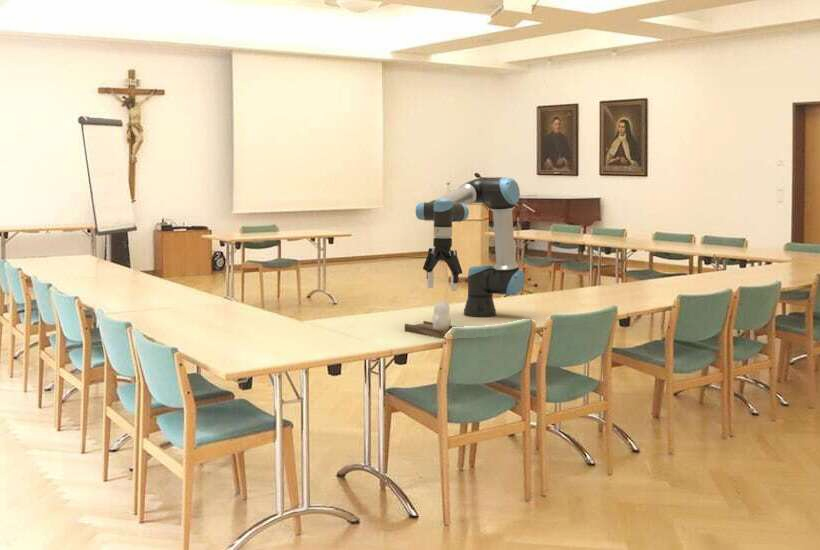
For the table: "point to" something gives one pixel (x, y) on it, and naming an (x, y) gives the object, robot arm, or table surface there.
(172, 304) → the table surface
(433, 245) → the robot arm
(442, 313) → the figurine
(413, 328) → the flange rail
